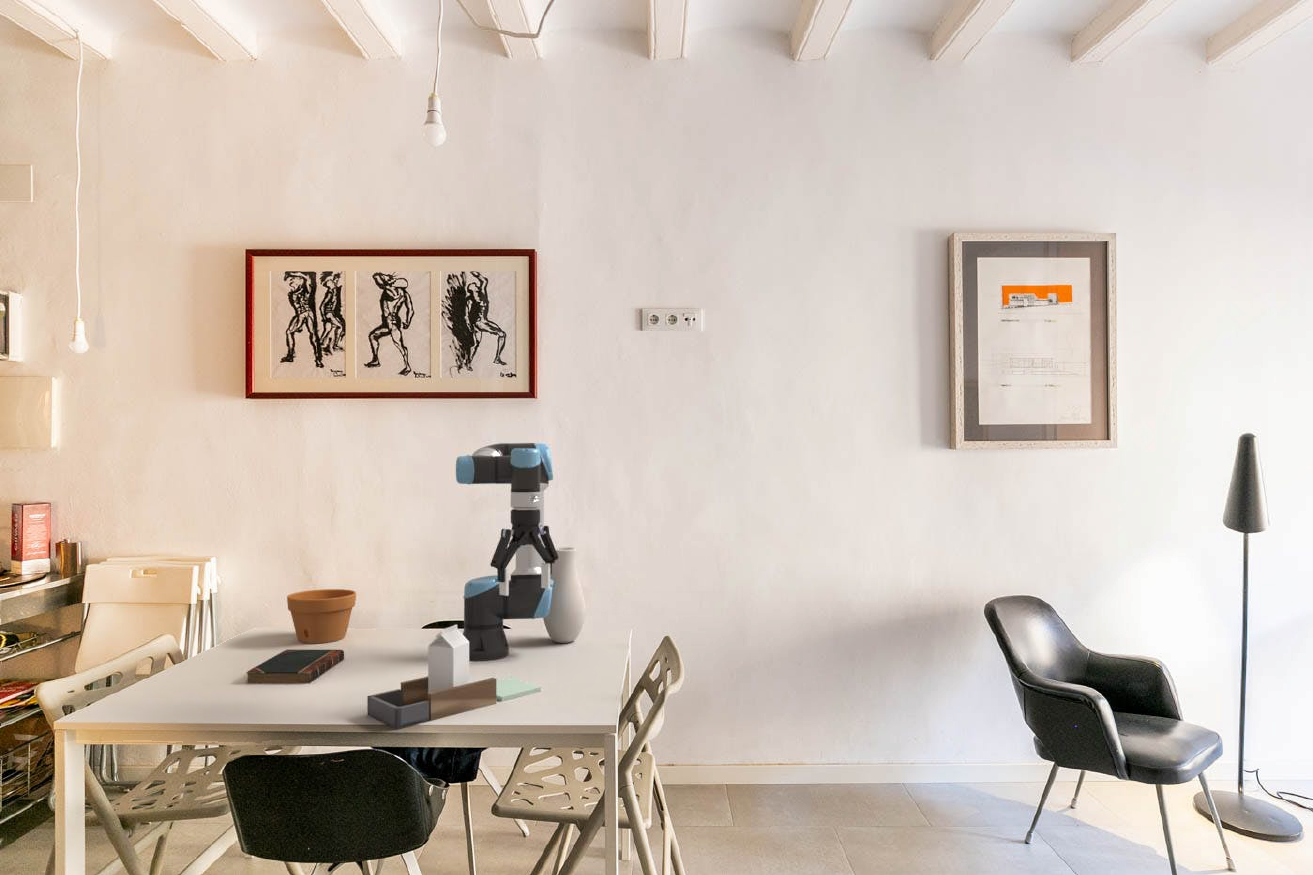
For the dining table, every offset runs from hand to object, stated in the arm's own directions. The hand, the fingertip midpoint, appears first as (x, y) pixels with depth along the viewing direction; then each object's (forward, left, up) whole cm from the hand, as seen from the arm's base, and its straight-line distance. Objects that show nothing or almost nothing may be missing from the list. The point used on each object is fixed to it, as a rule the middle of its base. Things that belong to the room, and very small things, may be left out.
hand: (525, 591), depth 213 cm
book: (-63, -32, -27) cm, 76 cm away
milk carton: (-5, -19, -26) cm, 33 cm away
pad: (-5, -2, -26) cm, 27 cm away
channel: (-5, -19, -26) cm, 33 cm away
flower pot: (-97, -10, -26) cm, 101 cm away
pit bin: (-5, -32, -26) cm, 42 cm away
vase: (-37, +43, -26) cm, 63 cm away
